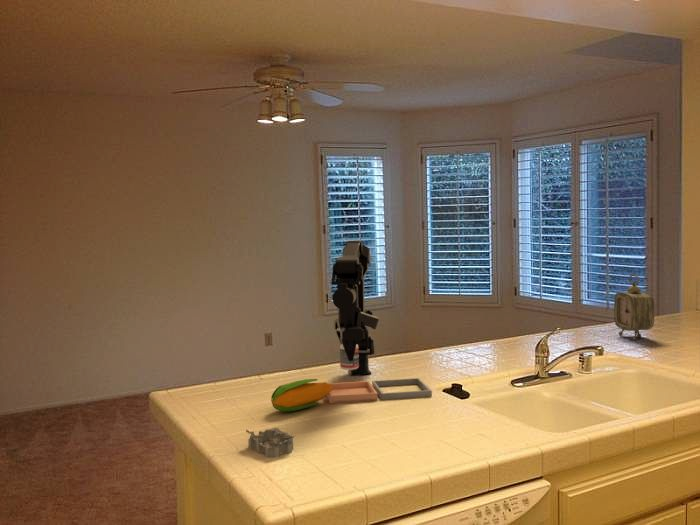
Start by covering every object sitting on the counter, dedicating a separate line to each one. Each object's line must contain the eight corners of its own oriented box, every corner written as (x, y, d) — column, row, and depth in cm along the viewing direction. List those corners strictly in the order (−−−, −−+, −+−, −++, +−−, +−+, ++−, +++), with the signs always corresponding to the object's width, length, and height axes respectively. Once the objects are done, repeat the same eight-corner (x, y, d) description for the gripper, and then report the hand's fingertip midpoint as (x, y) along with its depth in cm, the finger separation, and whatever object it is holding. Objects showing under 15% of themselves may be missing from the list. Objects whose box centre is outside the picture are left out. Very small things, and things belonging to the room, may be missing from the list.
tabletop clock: (613, 334, 262) (614, 273, 261) (635, 334, 263) (635, 272, 262) (633, 341, 248) (634, 276, 246) (655, 340, 249) (656, 275, 247)
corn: (264, 383, 170) (323, 369, 183) (263, 411, 171) (322, 395, 184) (280, 390, 164) (340, 375, 178) (280, 419, 165) (339, 402, 179)
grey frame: (372, 386, 194) (372, 380, 194) (418, 383, 196) (418, 377, 196) (381, 399, 180) (381, 393, 180) (431, 396, 182) (431, 390, 182)
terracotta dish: (324, 390, 190) (324, 383, 190) (368, 387, 192) (368, 381, 192) (329, 403, 177) (329, 396, 177) (377, 400, 179) (377, 393, 179)
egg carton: (244, 447, 146) (243, 429, 146) (273, 439, 151) (272, 422, 150) (268, 460, 138) (267, 441, 137) (298, 452, 142) (297, 433, 142)
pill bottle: (356, 370, 181) (356, 339, 180) (338, 370, 182) (337, 338, 181) (360, 365, 186) (359, 335, 185) (342, 364, 187) (341, 334, 186)
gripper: (382, 307, 175) (384, 364, 176) (370, 298, 193) (371, 350, 194) (341, 309, 173) (343, 367, 174) (332, 299, 191) (334, 352, 193)
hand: (349, 358), depth 184 cm, fingers closed on pill bottle, 5 cm apart
